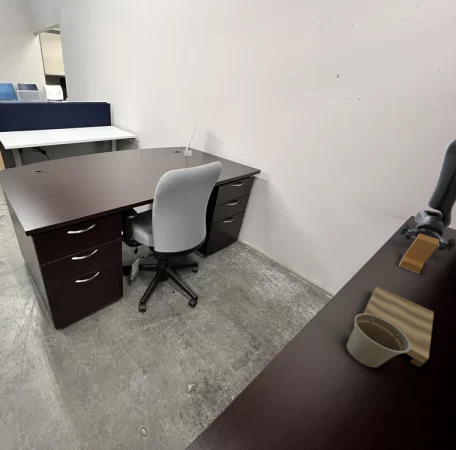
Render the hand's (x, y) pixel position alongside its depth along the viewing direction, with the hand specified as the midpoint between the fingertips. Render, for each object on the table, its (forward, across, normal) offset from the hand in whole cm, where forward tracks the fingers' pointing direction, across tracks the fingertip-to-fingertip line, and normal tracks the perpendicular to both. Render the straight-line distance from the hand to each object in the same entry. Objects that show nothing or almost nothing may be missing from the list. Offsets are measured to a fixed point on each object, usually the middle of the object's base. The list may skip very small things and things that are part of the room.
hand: (424, 242), depth 87 cm
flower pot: (+64, -2, +8) cm, 64 cm away
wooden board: (+47, +1, +8) cm, 48 cm away
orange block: (+5, 0, +8) cm, 10 cm away
